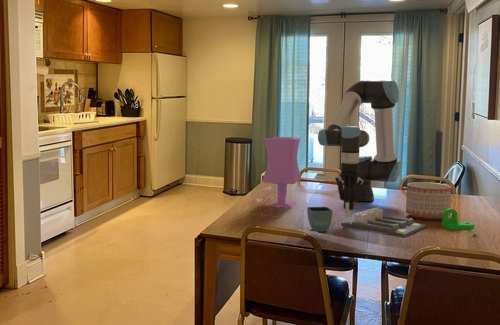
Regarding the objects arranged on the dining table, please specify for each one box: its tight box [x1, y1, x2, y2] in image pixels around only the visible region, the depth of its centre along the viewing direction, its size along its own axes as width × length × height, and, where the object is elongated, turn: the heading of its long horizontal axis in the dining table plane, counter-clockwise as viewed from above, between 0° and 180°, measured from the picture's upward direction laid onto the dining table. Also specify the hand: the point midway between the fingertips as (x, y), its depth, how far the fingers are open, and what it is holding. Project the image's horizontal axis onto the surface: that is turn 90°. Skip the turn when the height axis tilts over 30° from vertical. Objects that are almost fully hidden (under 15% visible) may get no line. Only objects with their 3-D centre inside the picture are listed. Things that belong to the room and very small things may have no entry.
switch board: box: [340, 215, 428, 238], centre depth 201 cm, size 28×22×3 cm
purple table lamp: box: [262, 136, 302, 209], centre depth 241 cm, size 16×16×35 cm
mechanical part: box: [441, 207, 475, 230], centre depth 200 cm, size 12×6×8 cm, turn 93°
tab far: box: [371, 206, 384, 218], centre depth 211 cm, size 4×4×5 cm
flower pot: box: [306, 206, 334, 233], centre depth 193 cm, size 9×9×9 cm
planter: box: [405, 181, 452, 221], centre depth 220 cm, size 19×19×15 cm
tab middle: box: [362, 208, 376, 221], centre depth 206 cm, size 4×4×5 cm
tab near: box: [353, 211, 368, 224], centre depth 201 cm, size 4×4×5 cm
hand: (348, 216), depth 205 cm, fingers closed
